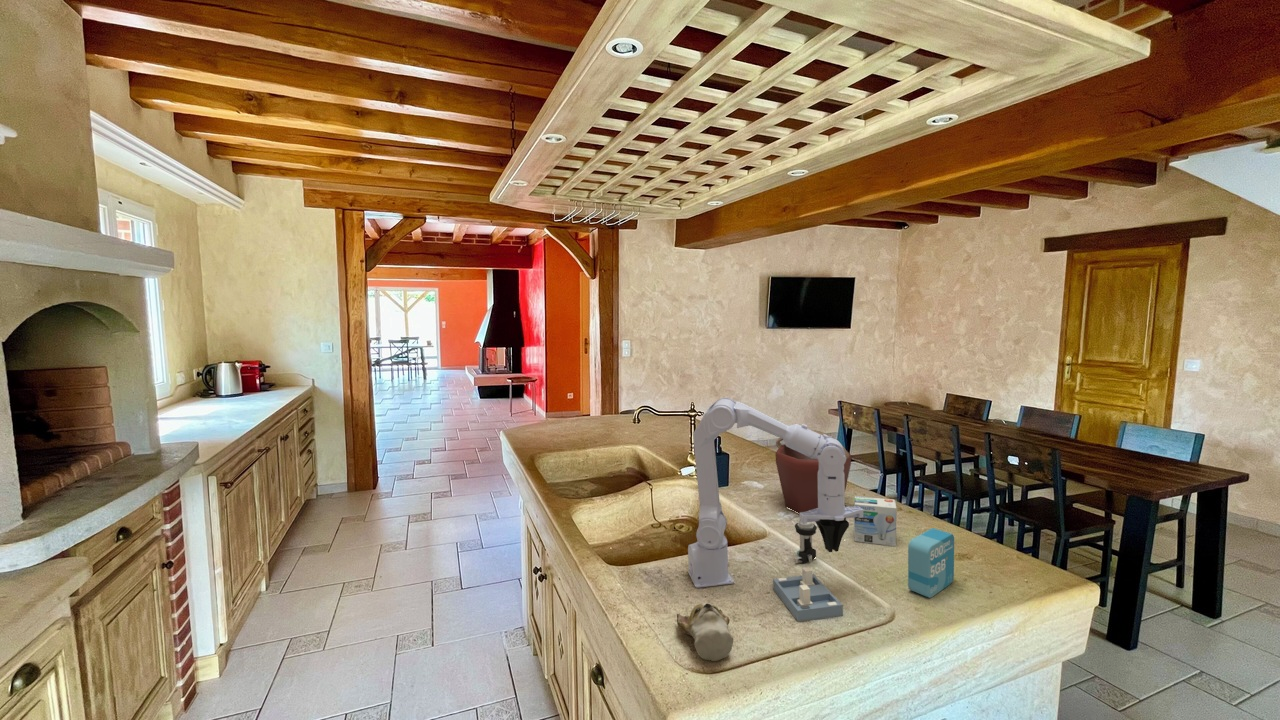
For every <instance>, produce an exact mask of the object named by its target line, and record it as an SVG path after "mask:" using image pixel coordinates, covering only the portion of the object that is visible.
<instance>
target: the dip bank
mask: <svg viewBox="0 0 1280 720" xmlns="http://www.w3.org/2000/svg"><path fill="white" fill-rule="evenodd" d="M812 578H813V583H814V584H815V585H811V586H808V587H809V588H810V601H811V602H812V603H813V604H812V605H804V606H798V605H797V600H799V586H800V581H802V575H796V576H789V577H788V576H786V577H781V578H780V577H779V578H773V579H772V589H773V591H774V592H775V594H776V595H777V596H778V597H779V599H780V600H781V601H782V602H783V604H784V605H785V607H786V608H787V609H788V610H789V612H790V613H791V615H792V616H793V618H795V620H796V621H797V623H798V622H800V623H801V622H804V621H805V622H807V621H813V620H820V619H829V618H835V617H842V616H844V605H843V603H841V601H840V600H839V599H838V598H837V597H836V596H835V594H833V593H832V592H831V590H829V589H828V587H826V586H825V584H824V583H823V582H822V581H821V580H820V579H819V578H818V576H816V575H815V574H814V573H812Z"/></svg>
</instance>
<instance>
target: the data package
mask: <svg viewBox="0 0 1280 720" xmlns="http://www.w3.org/2000/svg"><path fill="white" fill-rule="evenodd" d="M907 548H908V549H907V551H908V552H907V553H908V554H907V555H908V556H907V560H908V561H907V567H908V568H907V569H908V570H907V571H908V572H907V583H908V584H907V586H908V589H909V590H910V591H912V592H915V593H916V594H920V595H921V596H924V597H926V598H929V599H932V598H933V597H934V596H935V595H938V593H940V592H941V591H943V590H944V589H946V588H947V587H949V586H950V585H951V584H952V583H953V581H954V578H955V577H954V576H955V536H954V534H953V533H952V532H951V533H950V532H946V531H943V530H940V529H937V528H934V527H931V528H929V529H928V530H926V531H924V532H922V533H920V534H919V535H917V536H915V537H913V538H912V539H911V540H909V542H908V547H907Z"/></svg>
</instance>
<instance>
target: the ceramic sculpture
mask: <svg viewBox="0 0 1280 720" xmlns="http://www.w3.org/2000/svg"><path fill="white" fill-rule="evenodd" d="M676 623H677V626H678V628H679V629H680V630H681V631H682V632H683V633H685V634H687V635H688V636H690V637H692V638H693V640H694V648H695V650H696V652H697V654H698V655H699V656H700V658H701V659H702V660H703V661H710V660H711V661H710V662H719V661H720V660H721V659H725V658H726V657H727V656H729V654H730V653H731V652H732V648H733V644H734V636H733V635H732V634H731V633H730V631H729V626H728V625H729V624H730V618H729V616H727V615H726V614H725V613H724V612H723V610H722V609H721V608H720V609H719V608H718V607H717V606H716V605H714V604H713V603H706V602H705V603H699V604H697V605H695V606H694V607H693V608H692V610H691V612H690V615H681V614H679V613H677V614H676Z"/></svg>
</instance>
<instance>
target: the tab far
mask: <svg viewBox="0 0 1280 720" xmlns="http://www.w3.org/2000/svg"><path fill="white" fill-rule="evenodd" d="M812 574H813V570H812V569H811V568H810V567H809V566H806V567H804V566H803V567H802V568H801V576H802V581H800V585H807V586H811V585H815V584H814V583H813V578H812Z"/></svg>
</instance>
